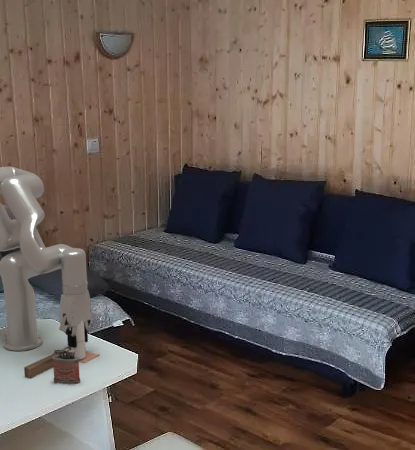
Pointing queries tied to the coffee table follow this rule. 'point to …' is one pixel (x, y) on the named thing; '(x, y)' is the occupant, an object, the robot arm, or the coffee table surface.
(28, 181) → the robot arm
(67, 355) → the lighter
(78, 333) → the tube
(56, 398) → the coffee table surface
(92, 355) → the end pad
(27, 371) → the walnut straightedge
